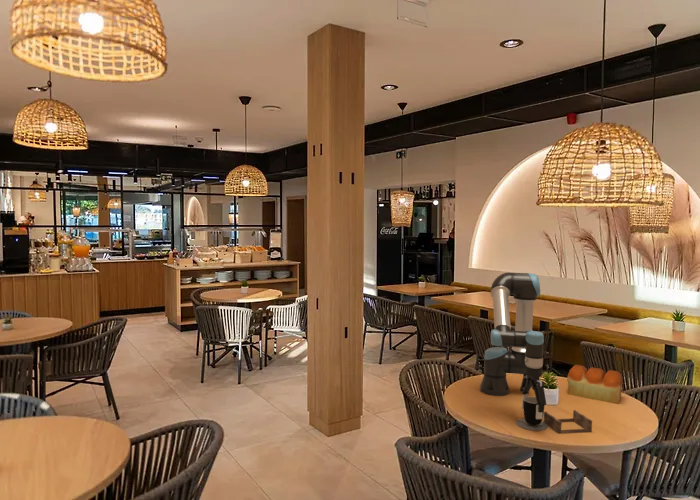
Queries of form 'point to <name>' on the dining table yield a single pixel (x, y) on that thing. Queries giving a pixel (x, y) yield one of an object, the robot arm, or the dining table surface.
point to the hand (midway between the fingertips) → (531, 413)
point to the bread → (595, 384)
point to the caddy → (577, 418)
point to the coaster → (525, 425)
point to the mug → (531, 410)
